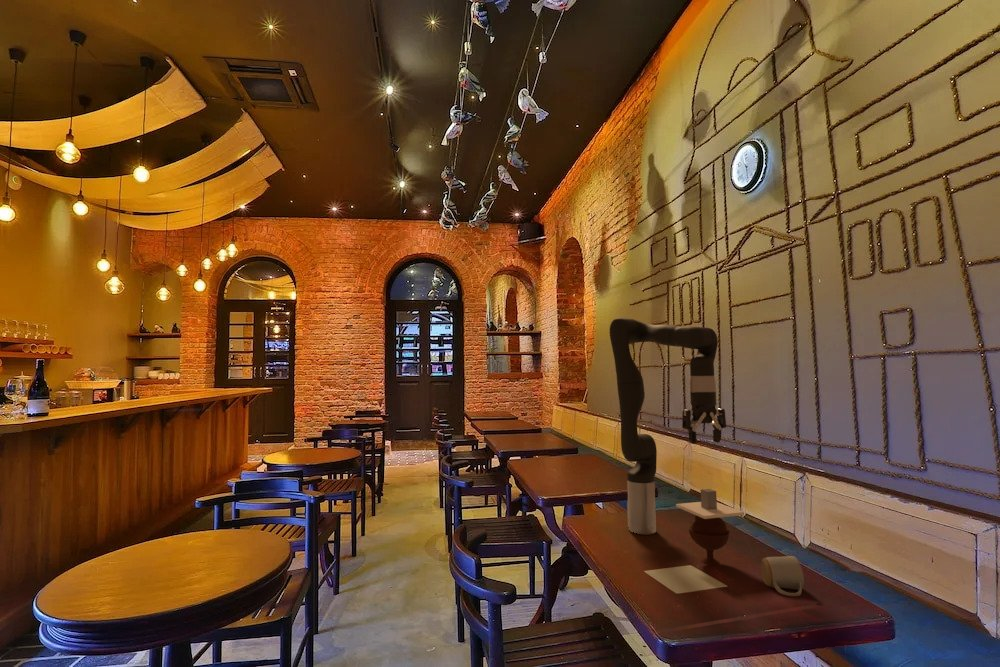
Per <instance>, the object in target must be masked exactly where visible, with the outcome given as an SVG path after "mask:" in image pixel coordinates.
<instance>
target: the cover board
mask: <svg viewBox="0 0 1000 667" xmlns="http://www.w3.org/2000/svg"><path fill="white" fill-rule="evenodd" d="M675 507H676V508H679V509H681V510H682V511H685V512H688V513H690V514H692V515H694V516H696V515H697V516H699V517H701V518H704V519H709V518H728V517H729V518H730V517H737V516H745V512H744V511H742V510H739V509H737V508H734V507H731V506H728V505H725V504H723V503H721V502H718V499H717V490H714V489H711V488H705V489H704V488H702V489H700V501H696V502H695V501H694V502H685V503H683V502H682V503H676V504H675Z"/></svg>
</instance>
